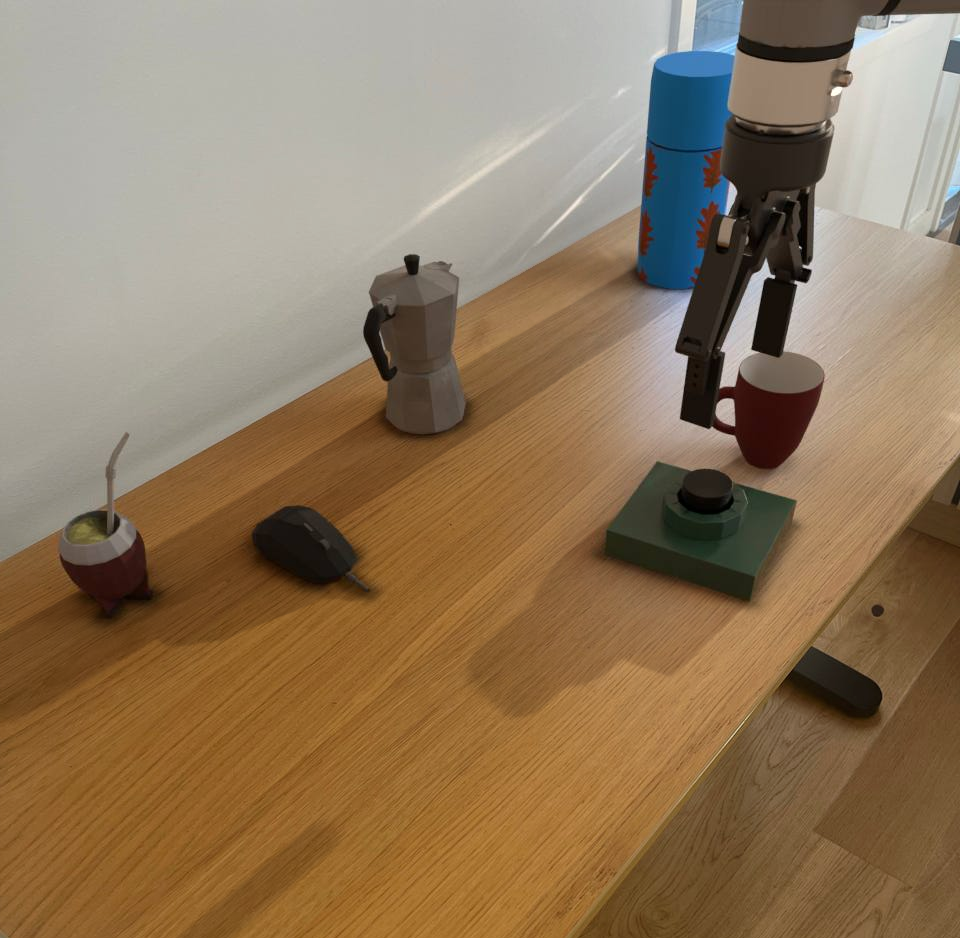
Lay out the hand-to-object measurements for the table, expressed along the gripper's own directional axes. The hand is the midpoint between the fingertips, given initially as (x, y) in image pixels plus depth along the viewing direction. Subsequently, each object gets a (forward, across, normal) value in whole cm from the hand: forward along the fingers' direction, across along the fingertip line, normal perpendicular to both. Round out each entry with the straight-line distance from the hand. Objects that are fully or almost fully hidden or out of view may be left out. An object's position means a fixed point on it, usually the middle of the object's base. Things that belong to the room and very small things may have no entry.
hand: (733, 386), depth 81 cm
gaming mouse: (+15, -26, +28) cm, 41 cm away
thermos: (+14, +45, +28) cm, 55 cm away
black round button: (+10, -4, -1) cm, 10 cm away
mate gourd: (+15, -40, +40) cm, 58 cm away
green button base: (+14, -4, -1) cm, 15 cm away
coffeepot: (+15, -2, +35) cm, 38 cm away
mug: (+14, +11, +1) cm, 18 cm away
